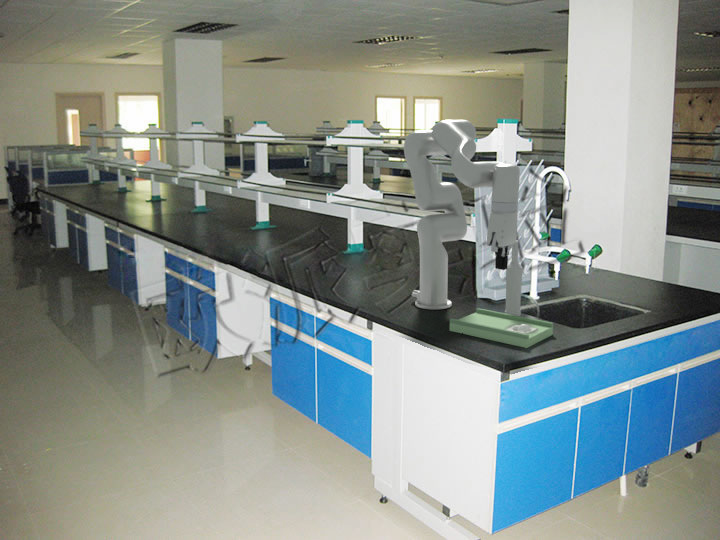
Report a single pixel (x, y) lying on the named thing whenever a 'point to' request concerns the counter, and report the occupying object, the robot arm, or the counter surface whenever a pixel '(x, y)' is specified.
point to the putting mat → (502, 327)
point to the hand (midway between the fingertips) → (501, 268)
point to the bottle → (513, 283)
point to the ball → (523, 328)
